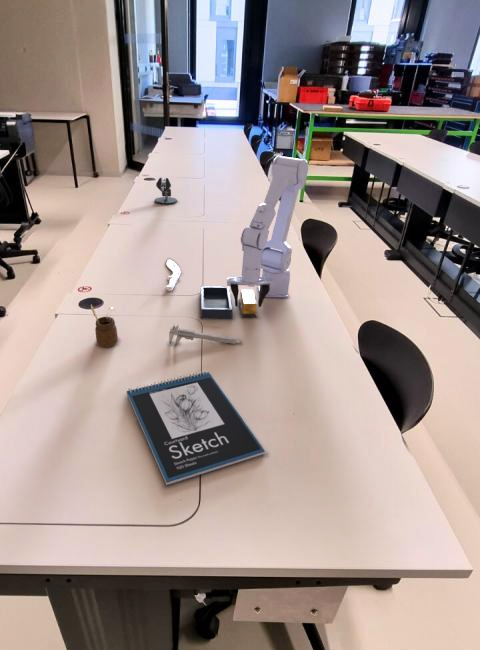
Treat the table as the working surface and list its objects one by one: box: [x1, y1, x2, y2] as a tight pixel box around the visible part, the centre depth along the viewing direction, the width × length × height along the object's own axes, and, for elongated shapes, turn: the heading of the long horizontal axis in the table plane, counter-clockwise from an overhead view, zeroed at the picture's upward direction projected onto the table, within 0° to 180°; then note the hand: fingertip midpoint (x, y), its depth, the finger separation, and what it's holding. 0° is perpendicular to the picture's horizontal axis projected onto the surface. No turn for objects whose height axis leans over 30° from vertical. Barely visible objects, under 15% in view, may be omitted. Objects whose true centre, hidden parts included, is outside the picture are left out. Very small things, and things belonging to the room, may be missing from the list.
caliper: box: [168, 324, 241, 345], centre depth 125 cm, size 20×1×6 cm, turn 94°
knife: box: [164, 258, 182, 292], centre depth 165 cm, size 30×2×8 cm
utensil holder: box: [90, 304, 119, 348], centre depth 122 cm, size 6×6×12 cm
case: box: [200, 285, 233, 320], centre depth 144 cm, size 10×17×3 cm, turn 2°
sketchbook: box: [126, 370, 266, 486], centre depth 98 cm, size 22×30×2 cm
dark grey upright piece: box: [154, 176, 178, 206], centre depth 242 cm, size 13×20×13 cm, turn 1°
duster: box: [238, 289, 258, 319], centre depth 143 cm, size 5×11×5 cm, turn 1°
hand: (247, 305), depth 143 cm, fingers open, 7 cm apart
